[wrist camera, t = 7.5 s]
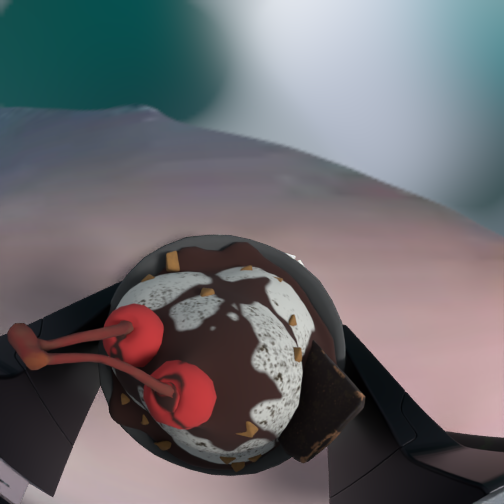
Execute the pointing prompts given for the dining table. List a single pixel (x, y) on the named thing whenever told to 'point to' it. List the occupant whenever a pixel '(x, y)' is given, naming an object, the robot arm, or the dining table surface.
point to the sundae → (218, 357)
